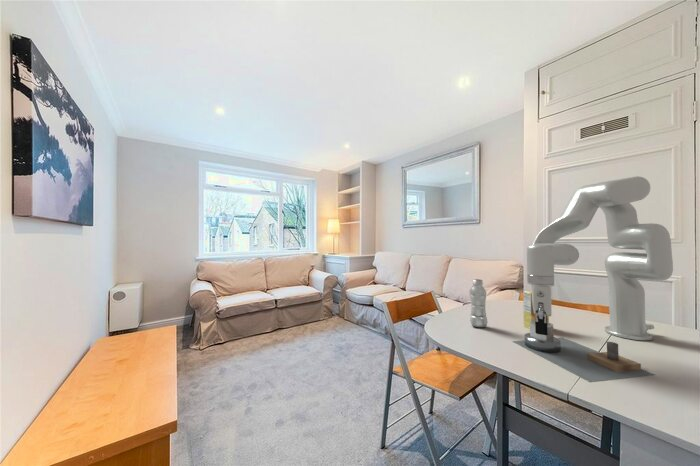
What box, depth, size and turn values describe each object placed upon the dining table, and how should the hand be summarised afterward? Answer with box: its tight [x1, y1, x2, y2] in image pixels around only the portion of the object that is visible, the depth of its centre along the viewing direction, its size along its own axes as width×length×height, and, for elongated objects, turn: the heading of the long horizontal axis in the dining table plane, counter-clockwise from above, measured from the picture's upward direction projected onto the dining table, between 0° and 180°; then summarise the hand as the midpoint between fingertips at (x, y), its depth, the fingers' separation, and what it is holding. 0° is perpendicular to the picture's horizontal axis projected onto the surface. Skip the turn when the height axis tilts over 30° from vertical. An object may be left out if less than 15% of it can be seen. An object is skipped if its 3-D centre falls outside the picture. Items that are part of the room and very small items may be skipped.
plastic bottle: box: [469, 278, 488, 329], centre depth 112 cm, size 6×7×20 cm
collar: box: [529, 321, 555, 342], centre depth 90 cm, size 6×6×5 cm
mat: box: [511, 336, 656, 383], centre depth 83 cm, size 21×27×1 cm
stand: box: [587, 341, 642, 372], centre depth 77 cm, size 8×8×6 cm
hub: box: [524, 332, 561, 353], centre depth 90 cm, size 10×10×8 cm
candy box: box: [522, 290, 550, 330], centre depth 109 cm, size 9×4×15 cm, turn 103°
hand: (541, 329), depth 90 cm, fingers open, 9 cm apart
